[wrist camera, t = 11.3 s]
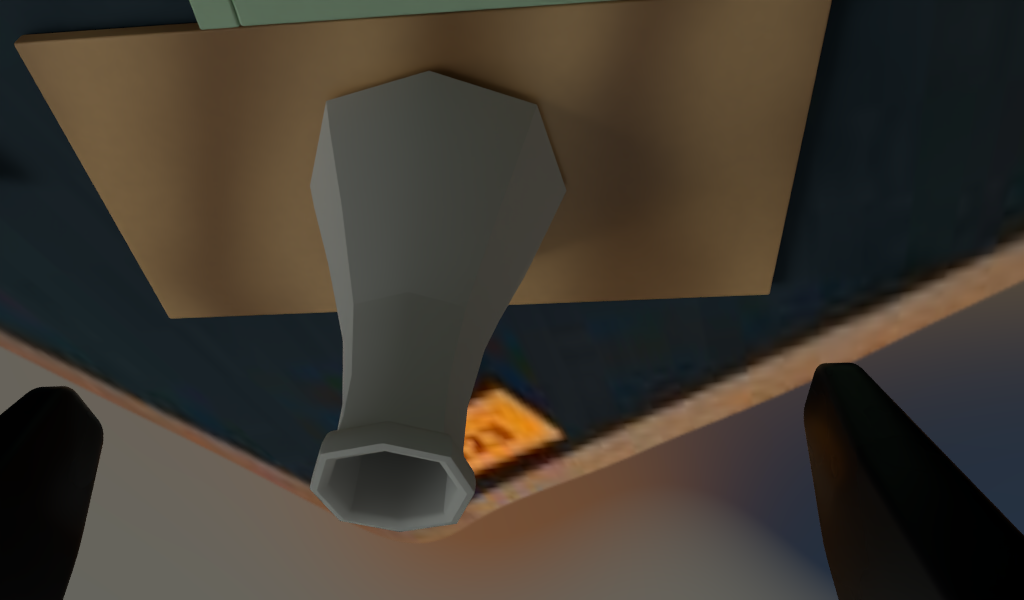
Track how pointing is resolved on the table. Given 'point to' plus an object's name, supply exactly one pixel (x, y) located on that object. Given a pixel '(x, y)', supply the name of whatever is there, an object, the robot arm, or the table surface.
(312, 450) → the table surface
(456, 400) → the flask
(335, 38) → the cork mat
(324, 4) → the bin
